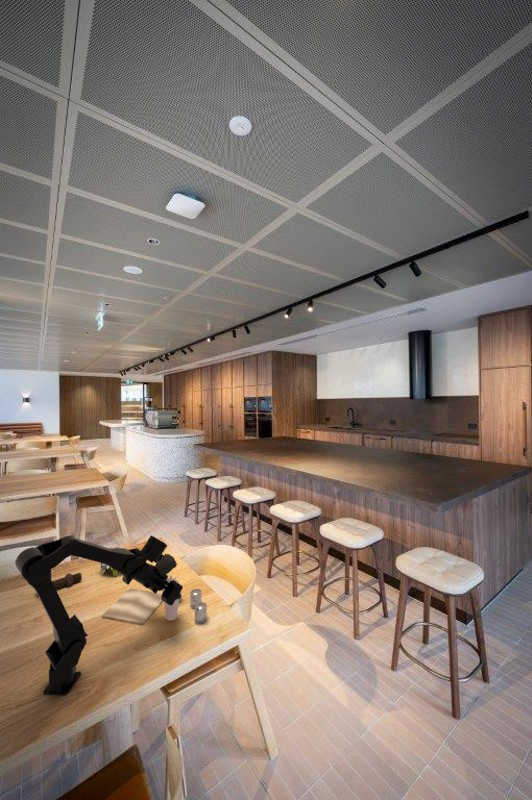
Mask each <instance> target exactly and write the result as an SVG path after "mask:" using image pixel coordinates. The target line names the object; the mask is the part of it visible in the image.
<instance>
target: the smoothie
mask: <svg viewBox="0 0 532 800" xmlns="http://www.w3.org/2000/svg"><path fill="white" fill-rule="evenodd" d="M169 578H170V581H172V578H173V576H172V575H170V576H169ZM164 590H165V589H163V590H162V591H161V592H162V593H163V592H164ZM180 593H181V594H182V591H181V592H180ZM179 604H180V603H179V599H177V600H175V602H174V603H173V605H171V606H170V605H168V604H167V603H166V602H164V601H163V605H164V612H165V613H164V615H165V620H166V621H174V620H176V619H177V617H178V612H179V606H180V605H179Z"/></svg>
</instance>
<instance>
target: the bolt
mask: <svg viewBox="0 0 532 800" xmlns="http://www.w3.org/2000/svg"><path fill="white" fill-rule="evenodd" d="M82 577H83V575H82V573H81V572H78V573H74V574H72V573H70V572H68V573H66V574H65V576H64V577H61V578H58V579H55V580H52V582H53V584H54V586H55V589H56V590H57V589H60V588H62V587H66V586H67V588H69V586H70V587H72V586H73V584H75V583H77V582H81V581H82V580H83V579H82Z"/></svg>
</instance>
